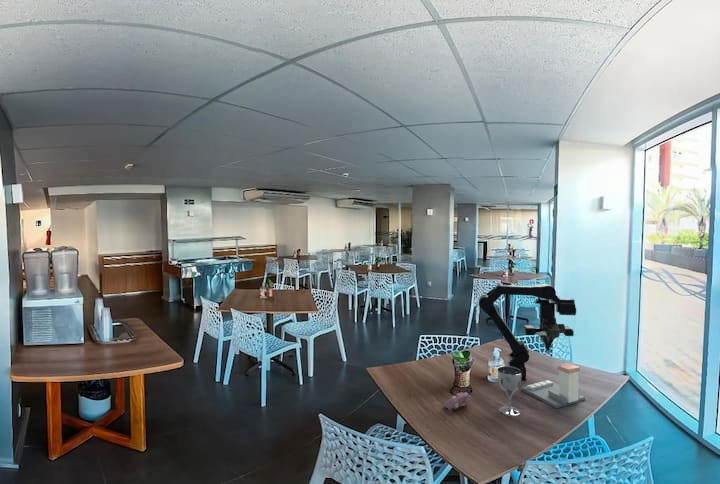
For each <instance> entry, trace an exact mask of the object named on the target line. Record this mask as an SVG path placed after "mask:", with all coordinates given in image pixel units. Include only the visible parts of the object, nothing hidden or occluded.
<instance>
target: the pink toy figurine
mask: <svg viewBox="0 0 720 484" xmlns="http://www.w3.org/2000/svg"><path fill="white" fill-rule="evenodd" d="M470 401H472V396H471V395H470V393H468V392H466V391H465V392H458V393H456V394H455V395H453V396H451V397H450V398H449V399H448V400H445V402H443V408H445V407H446V408H448V409H447V410H450V409H452V408H453V409H454V410H456V409H455V408H457V409H458V408H459V407H460V408H463V407H462V406H464V407H465V406H466V405H467V404H468V403H469V402H470ZM446 408H445V409H446Z"/></svg>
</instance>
